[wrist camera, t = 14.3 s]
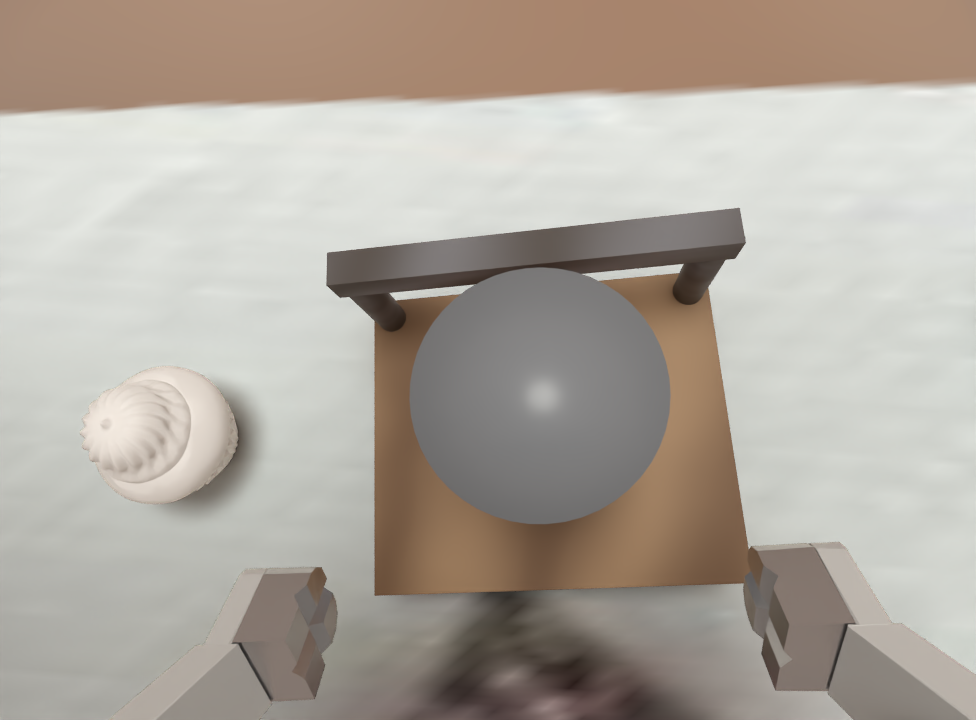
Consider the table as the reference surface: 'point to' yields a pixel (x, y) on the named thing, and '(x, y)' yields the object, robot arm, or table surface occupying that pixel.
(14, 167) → the table surface
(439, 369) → the cord spool
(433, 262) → the shelf stand
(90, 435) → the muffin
